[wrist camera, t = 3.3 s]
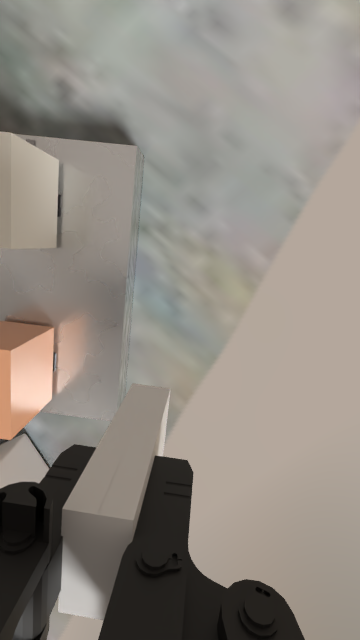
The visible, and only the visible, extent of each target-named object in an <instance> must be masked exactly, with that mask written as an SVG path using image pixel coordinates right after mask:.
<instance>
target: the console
mask: <svg viewBox="0 0 360 640" xmlns="http://www.w3.org/2000/svg"><path fill="white" fill-rule="evenodd" d="M14 135H16V136H18V137H20V138H21V139H23V140H25V141H27V142H28V143H30V144H32V145H34V146H35V147H37V148H39V149H40V150H42V151H44V152H46V153H47V154H49V155H51V156H53V157H54V158H56V159H58V160H59V177H58V210H57V244H56V248H40V249H6V248H0V321H8V322H16V323H24V324H31V325H39V326H47V327H54V345H53V379H52V399H51V400H50V401H49V402H48V403H47V404H46V405H45V406H44V407H43V408H42V409H41V410H40V411H41V412H48V413H55V414H62V415H69V416H76V417H83V418H91V419H98V420H105V421H112V419H113V418H114V416H115V414H116V412H117V410H118V409H119V407H120V405H121V403H122V402H123V400H124V398H125V392H126V380H127V367H128V355H129V342H130V330H131V317H132V305H133V293H134V280H135V268H136V255H137V243H138V230H139V218H140V206H141V193H142V181H143V168H144V156H143V154H142V153H141V151H140V150H139V148H138V147H137V146H132V145H122V144H112V143H102V142H92V141H82V140H72V139H62V138H51V137H41V136H31V135H21V134H14Z"/></svg>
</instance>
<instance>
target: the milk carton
mask: <svg viewBox="0 0 360 640" xmlns="http://www.w3.org/2000/svg"><path fill="white" fill-rule="evenodd" d="M48 470H49V468H48V466H47V465H46V463H45V462H44V460H43V459H42V457H41V456H40V454H39V453H38V451H37V450H36V448H35V447H34V445H33V444H32V442H31V441H30V439H29V438H28V437H27V435H26V434H22V435H20V436H17V437H15V438H13V439H11V440H9V441H7V442H5V443H3V444H1V445H0V489H1V488H3V487H5V486H7V485H9V484H14V483H18V482H36V483H40V482H41V480H42V479H43V477H45V475H46V473H47V472H48Z"/></svg>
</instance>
